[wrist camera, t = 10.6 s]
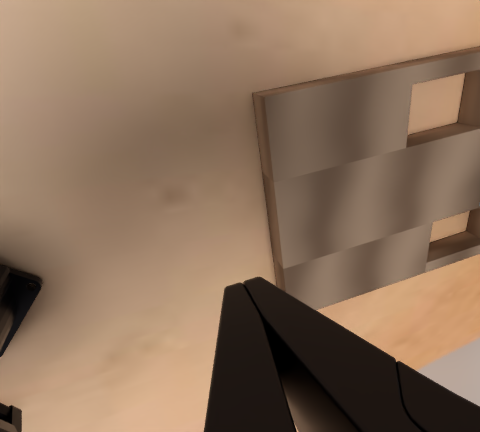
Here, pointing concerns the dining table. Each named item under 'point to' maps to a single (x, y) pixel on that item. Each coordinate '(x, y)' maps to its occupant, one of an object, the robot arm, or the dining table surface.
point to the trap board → (366, 178)
